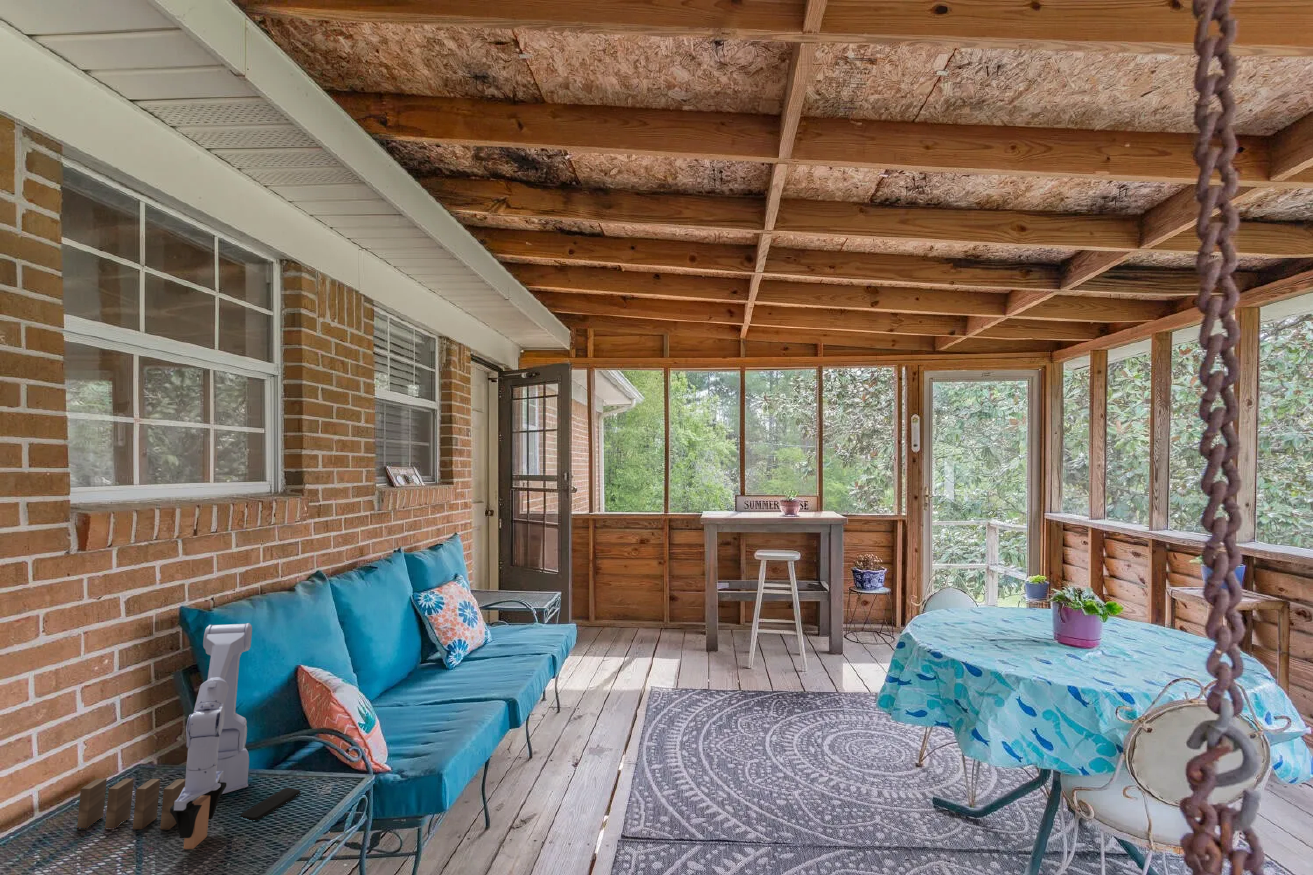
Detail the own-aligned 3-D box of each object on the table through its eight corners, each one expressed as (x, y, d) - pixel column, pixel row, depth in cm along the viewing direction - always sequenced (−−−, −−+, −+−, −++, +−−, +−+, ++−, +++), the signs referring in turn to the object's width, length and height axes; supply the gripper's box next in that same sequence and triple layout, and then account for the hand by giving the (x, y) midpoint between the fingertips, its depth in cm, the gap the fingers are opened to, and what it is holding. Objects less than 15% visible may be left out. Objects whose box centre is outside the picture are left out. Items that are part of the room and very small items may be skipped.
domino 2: (129, 817, 154) (133, 778, 155) (114, 829, 149) (117, 788, 150) (121, 817, 154) (124, 778, 154) (104, 829, 149) (108, 788, 149)
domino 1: (103, 817, 153) (106, 778, 154) (86, 829, 148) (90, 788, 149) (94, 817, 153) (97, 778, 154) (76, 829, 148) (80, 788, 149)
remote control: (254, 826, 154) (302, 794, 169) (254, 818, 154) (302, 787, 169) (237, 823, 155) (286, 791, 170) (237, 815, 155) (286, 784, 170)
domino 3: (156, 817, 154) (160, 778, 155) (141, 829, 149) (145, 788, 150) (147, 817, 154) (151, 778, 155) (132, 829, 149) (136, 788, 150)
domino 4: (183, 817, 155) (186, 778, 155) (169, 829, 150) (172, 788, 150) (174, 817, 155) (177, 778, 155) (160, 829, 150) (163, 788, 150)
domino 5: (206, 836, 148) (210, 795, 148) (193, 848, 143) (196, 806, 143) (197, 836, 147) (201, 795, 148) (183, 848, 143) (187, 806, 143)
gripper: (200, 779, 139) (195, 845, 138) (238, 751, 154) (233, 811, 153) (166, 779, 139) (160, 845, 138) (207, 751, 153) (202, 811, 152)
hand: (196, 827), depth 145 cm, fingers open, 7 cm apart
